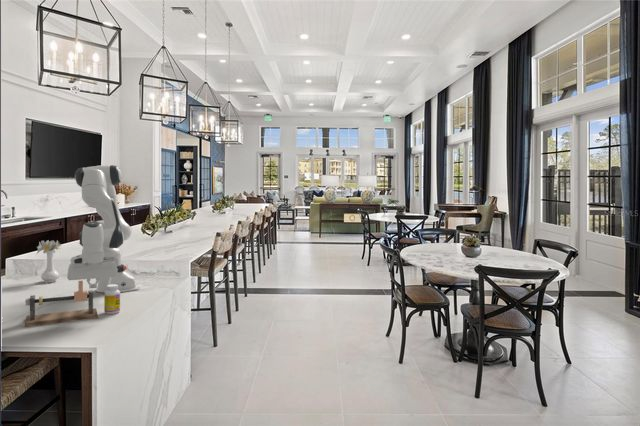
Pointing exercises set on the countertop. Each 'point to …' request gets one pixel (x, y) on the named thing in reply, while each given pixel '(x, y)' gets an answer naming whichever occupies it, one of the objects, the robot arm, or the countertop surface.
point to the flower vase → (49, 260)
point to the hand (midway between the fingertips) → (93, 287)
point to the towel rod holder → (60, 314)
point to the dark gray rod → (50, 299)
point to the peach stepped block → (80, 293)
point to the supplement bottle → (112, 299)
